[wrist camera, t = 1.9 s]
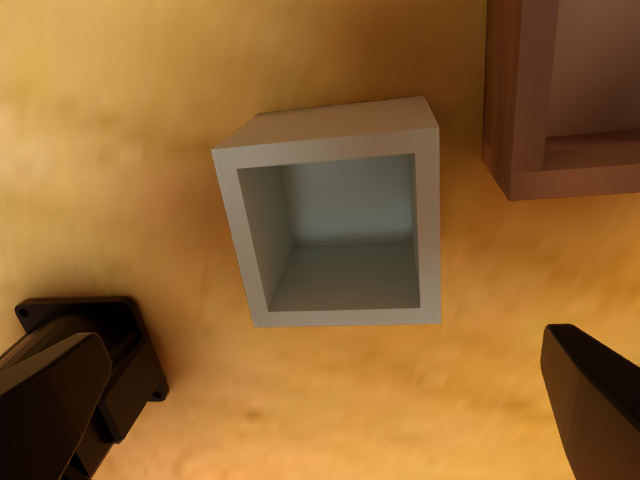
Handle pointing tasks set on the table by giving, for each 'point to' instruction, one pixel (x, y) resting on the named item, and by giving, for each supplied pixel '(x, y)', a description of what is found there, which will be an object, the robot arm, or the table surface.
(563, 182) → the big crate
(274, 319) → the small crate
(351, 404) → the table surface
